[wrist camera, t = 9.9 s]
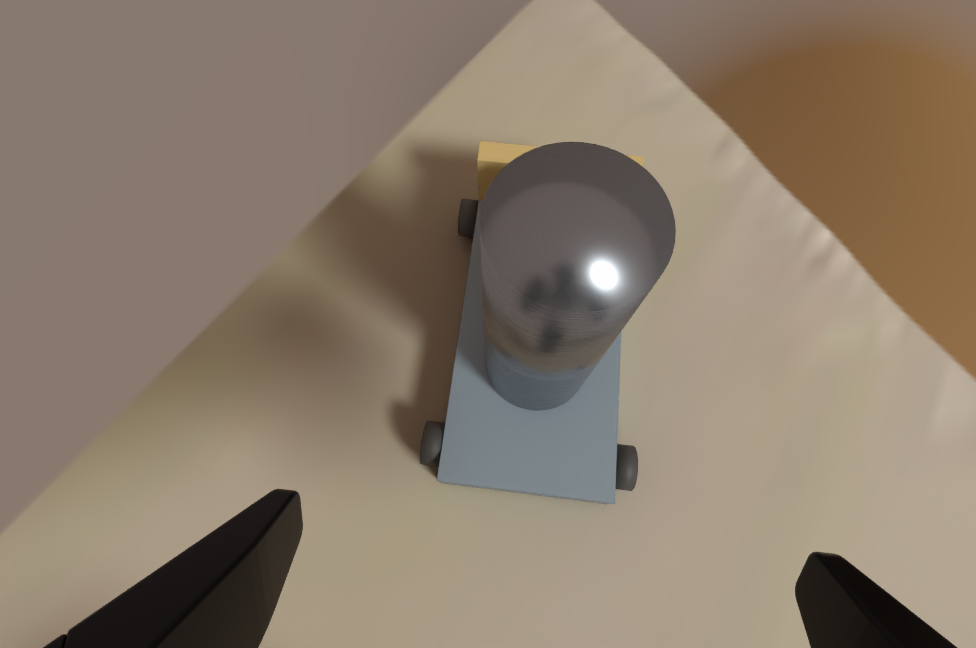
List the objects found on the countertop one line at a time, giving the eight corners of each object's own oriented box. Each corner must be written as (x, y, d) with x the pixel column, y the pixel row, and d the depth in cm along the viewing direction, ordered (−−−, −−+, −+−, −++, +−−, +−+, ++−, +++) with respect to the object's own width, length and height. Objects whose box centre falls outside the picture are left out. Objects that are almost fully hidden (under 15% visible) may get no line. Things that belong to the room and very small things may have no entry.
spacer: (601, 332, 22) (696, 175, 12) (568, 427, 21) (644, 341, 11) (506, 297, 23) (520, 119, 13) (468, 387, 21) (448, 269, 11)
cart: (625, 506, 22) (661, 505, 17) (421, 480, 22) (403, 472, 17) (634, 218, 26) (663, 158, 22) (466, 202, 27) (460, 139, 22)
